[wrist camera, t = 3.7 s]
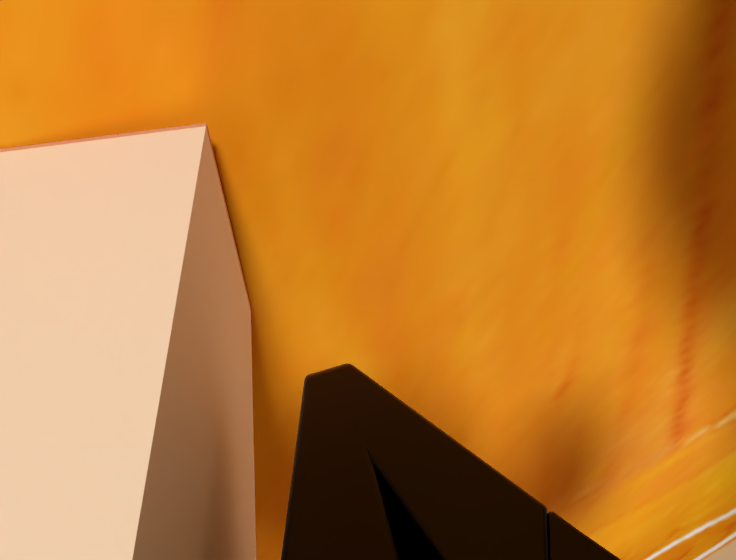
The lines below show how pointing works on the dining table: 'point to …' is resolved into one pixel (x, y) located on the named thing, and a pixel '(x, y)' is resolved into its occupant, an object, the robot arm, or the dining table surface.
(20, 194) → the cream block
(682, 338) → the dining table surface
